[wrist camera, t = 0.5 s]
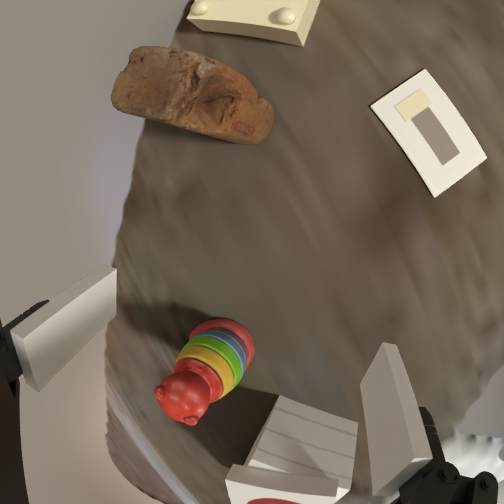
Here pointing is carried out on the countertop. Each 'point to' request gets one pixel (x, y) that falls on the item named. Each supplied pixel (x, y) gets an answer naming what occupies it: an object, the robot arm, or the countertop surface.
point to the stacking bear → (205, 369)
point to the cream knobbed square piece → (256, 18)
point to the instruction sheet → (430, 131)
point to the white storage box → (296, 458)
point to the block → (192, 95)
